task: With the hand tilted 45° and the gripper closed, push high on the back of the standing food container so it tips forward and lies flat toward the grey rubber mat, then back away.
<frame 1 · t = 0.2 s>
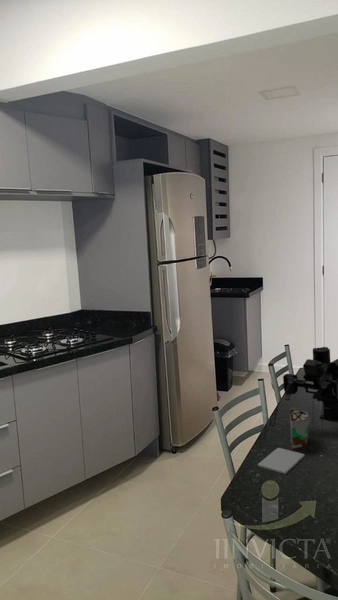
hand: (299, 394, 151), 16 cm above the table, tool horizontal, fingers open, 9 cm apart
food container: (301, 444, 153), on the table
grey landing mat: (281, 461, 143), on the table
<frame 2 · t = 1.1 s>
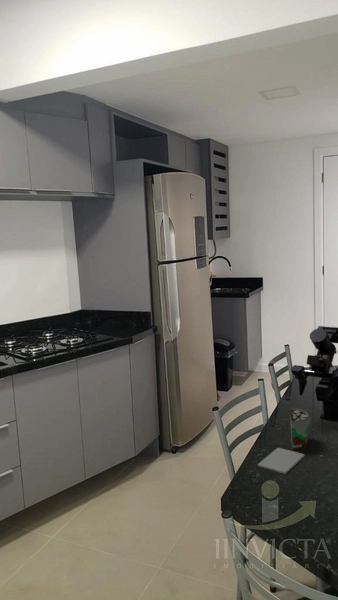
hand: (312, 396, 159), 13 cm above the table, tool tilted 45°, fingers open, 8 cm apart
nothing on the table moved.
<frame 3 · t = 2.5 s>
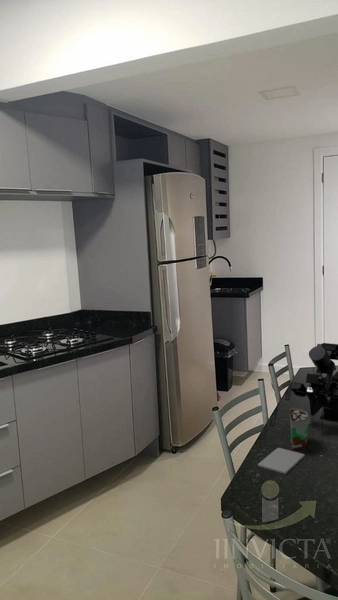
hand: (312, 415, 159), 7 cm above the table, tool tilted 45°, fingers closed
nothing on the table moved.
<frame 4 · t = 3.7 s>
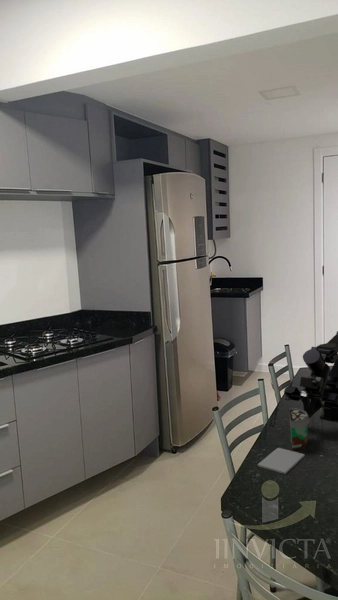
hand: (305, 419, 155), 7 cm above the table, tool tilted 45°, fingers closed
food container: (301, 444, 153), on the table, touching gripper
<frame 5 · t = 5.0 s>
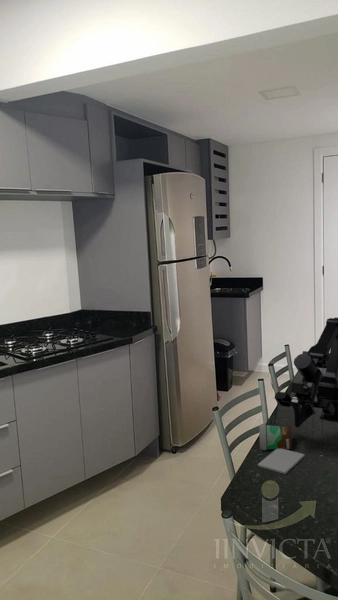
hand: (296, 426, 150), 7 cm above the table, tool tilted 45°, fingers closed
food container: (291, 433, 154), point 3 cm above the table, touching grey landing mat
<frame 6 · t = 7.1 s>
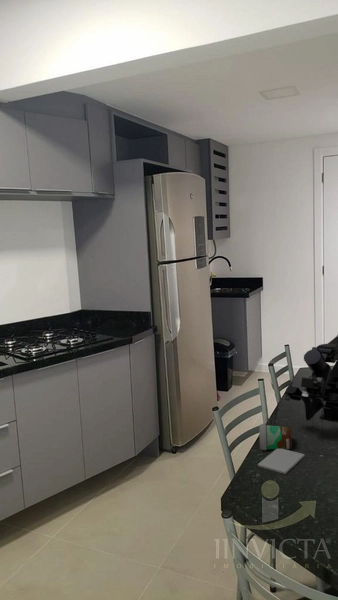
hand: (307, 420, 156), 6 cm above the table, tool tilted 45°, fingers closed
nothing on the table moved.
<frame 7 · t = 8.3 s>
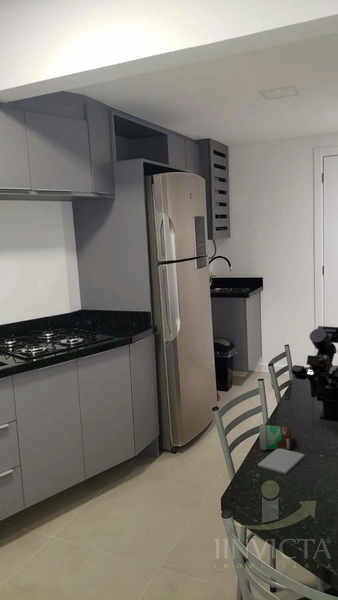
hand: (312, 397, 159), 13 cm above the table, tool tilted 45°, fingers closed
nothing on the table moved.
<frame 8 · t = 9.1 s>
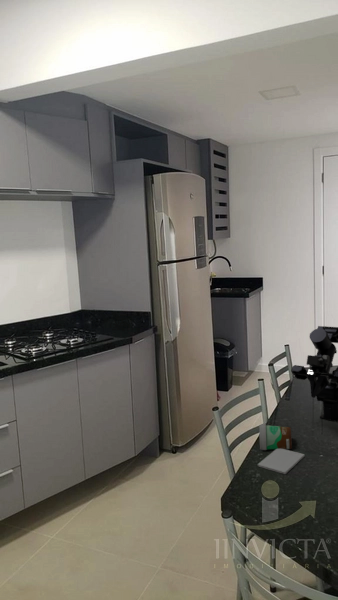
hand: (312, 397, 159), 13 cm above the table, tool tilted 45°, fingers closed
nothing on the table moved.
at the end: food container tilted 90°; food container inside the target area (3.9 cm from its centre), point 3.3 cm above the table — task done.
